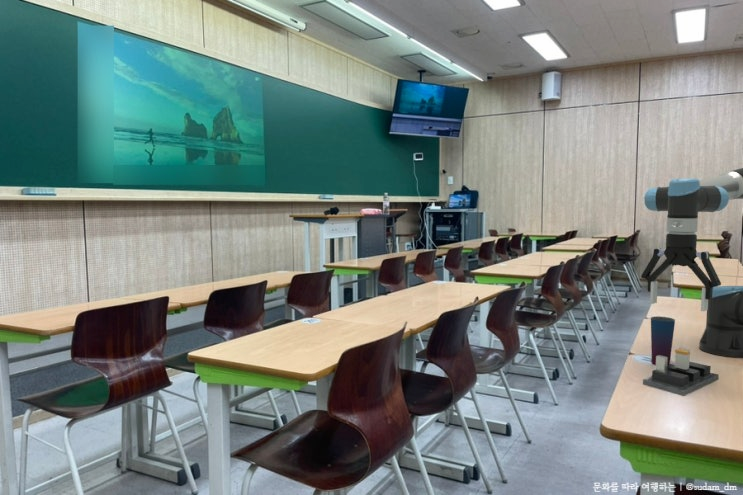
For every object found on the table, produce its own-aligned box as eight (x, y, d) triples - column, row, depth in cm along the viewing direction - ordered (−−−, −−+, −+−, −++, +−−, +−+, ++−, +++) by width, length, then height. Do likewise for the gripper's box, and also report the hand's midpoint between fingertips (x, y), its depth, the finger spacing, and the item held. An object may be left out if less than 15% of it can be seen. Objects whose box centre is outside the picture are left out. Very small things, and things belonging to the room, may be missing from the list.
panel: (678, 369, 162) (680, 344, 161) (718, 379, 153) (720, 352, 152) (642, 384, 149) (644, 356, 148) (683, 395, 140) (685, 366, 139)
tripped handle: (677, 365, 153) (678, 348, 152) (689, 368, 150) (690, 351, 150) (674, 367, 151) (675, 350, 151) (685, 369, 149) (686, 352, 148)
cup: (645, 364, 167) (648, 318, 166) (652, 359, 172) (654, 315, 171) (669, 369, 163) (672, 322, 161) (675, 364, 167) (677, 318, 166)
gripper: (631, 231, 155) (628, 301, 157) (727, 236, 135) (722, 315, 137) (642, 230, 160) (640, 298, 162) (737, 234, 140) (732, 312, 142)
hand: (677, 306), depth 150 cm, fingers open, 13 cm apart
